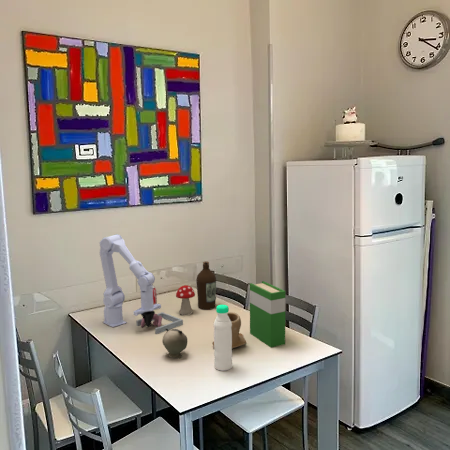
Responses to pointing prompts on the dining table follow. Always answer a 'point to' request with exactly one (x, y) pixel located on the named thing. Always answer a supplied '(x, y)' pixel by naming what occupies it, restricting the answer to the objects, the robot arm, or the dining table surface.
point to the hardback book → (267, 313)
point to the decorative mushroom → (185, 299)
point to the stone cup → (236, 330)
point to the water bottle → (222, 339)
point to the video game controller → (156, 319)
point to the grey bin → (175, 323)
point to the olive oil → (206, 288)
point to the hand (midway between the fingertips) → (148, 326)
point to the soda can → (154, 295)
